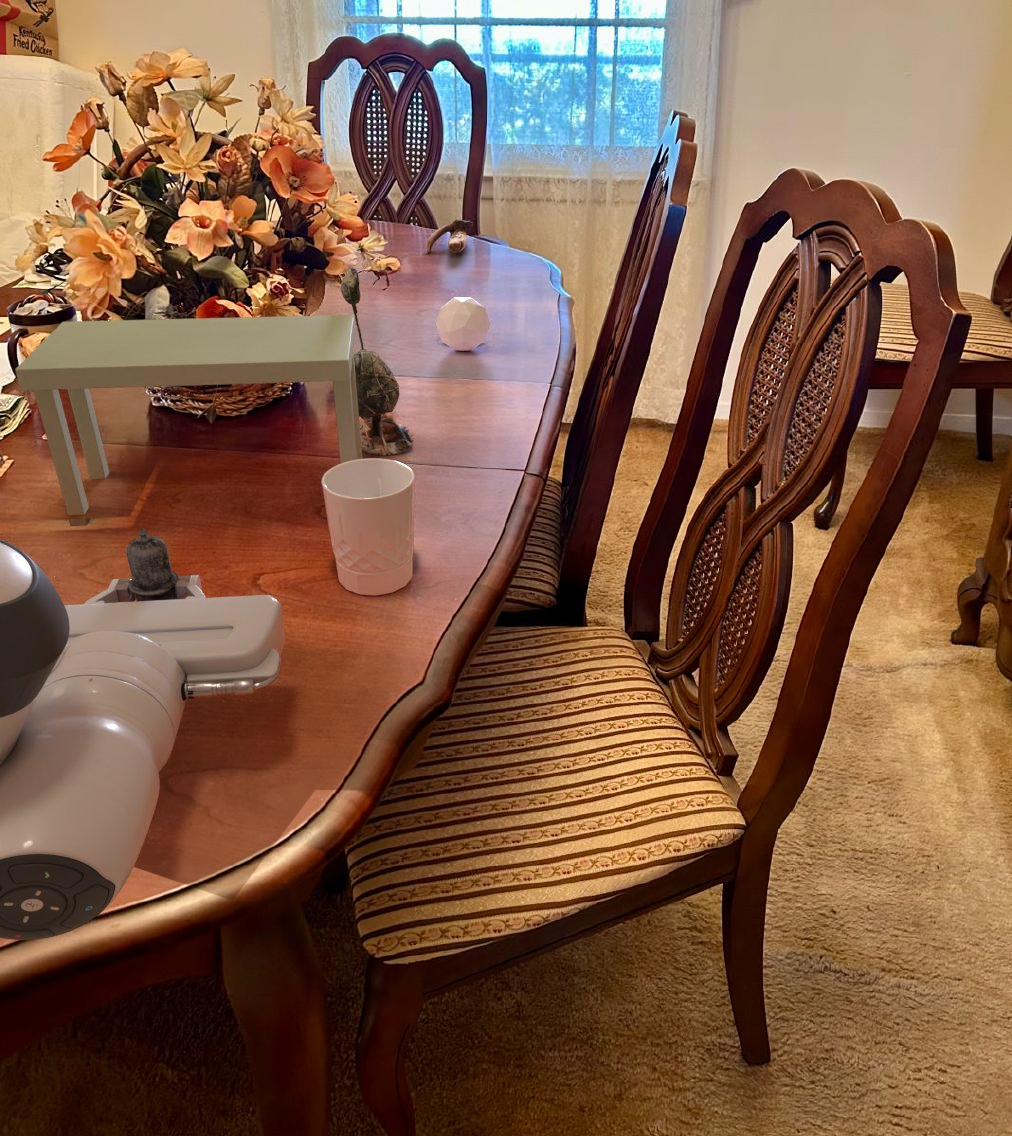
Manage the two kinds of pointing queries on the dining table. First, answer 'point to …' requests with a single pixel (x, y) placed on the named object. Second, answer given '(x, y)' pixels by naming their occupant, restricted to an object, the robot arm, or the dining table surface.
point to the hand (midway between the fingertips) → (158, 584)
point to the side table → (181, 373)
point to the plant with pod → (375, 391)
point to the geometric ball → (462, 323)
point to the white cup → (371, 524)
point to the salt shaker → (151, 569)
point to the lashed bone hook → (452, 235)
